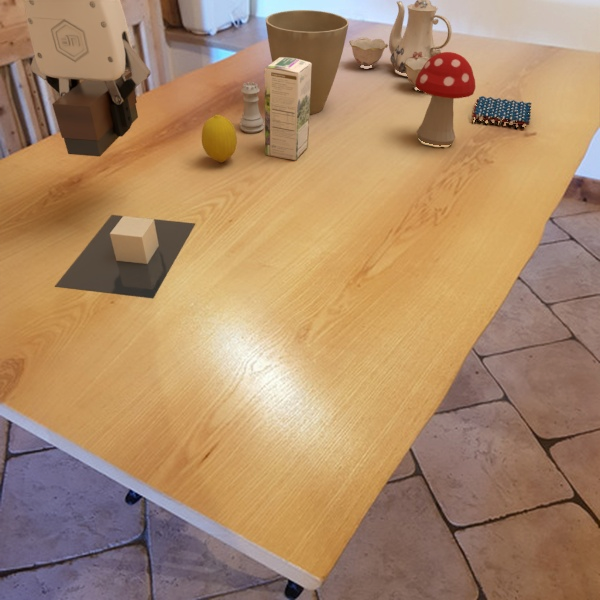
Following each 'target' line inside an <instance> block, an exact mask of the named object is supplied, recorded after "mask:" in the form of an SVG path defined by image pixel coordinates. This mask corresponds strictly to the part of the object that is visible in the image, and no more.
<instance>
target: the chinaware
mask: <svg viewBox="0 0 600 600" xmlns="http://www.w3.org/2000/svg"><path fill="white" fill-rule="evenodd" d="M396 4H397V7H398V12H397V15H396V18H395V21H394V23H393V26H392V28H391V31H390V35H389V39H388V43H385V41H384V40H383V39H381V38H375V39H370V38H368V37H364V36H363V37H359V38H357V39H356V40H353V39H351V40H349V41H348V43H349V45H350V47H351V50H352V51H351V52H352V55H353V58H354V60H355V61H356V62H357V63H359V65H360V64H361V65H364V66H370V65H373V66H374V65H375V64H376V63H378V62H379V61H380V60H381V58H382V56H383V53H384V50H385V49H387V48H389V52H390V54H391V55H390V62H391V64H392V65H393V67H394V70H395V69H396V70H397V71H399V72H401V73H406V74H407V76H408V78H407V79H408V81H409V82H410V84H412V85H413V87H416V85H415V84H416V78H417V76H418V74H419V73H420V71H421V70H422V68H423V67H424V65H425V63H426V62H427V61H428V60H429V59H430V58H431V57H433V56H434V55H436V54H439V53H442V49H443V48H445V47H446V46H447V45H448V44H449V42H450V41H451V38H452V33H453V30H452V29H453V28H452V25H451V22H450V21H449V19H448V18H447V17H445V16H444V15H440V14H436V13H437V10H438V9H439V8H438V7H437V6H436V5H433V4H432V1H430V0H415V2H414V3H413V4H408V5H407V6H406V7H407V15H408V16H407V22H406V28H405V30H404V32H403V33H404V34H403V36H402V31H403V26H404V21H405V16H406V15H405V13H406V10H405V9H406V8H405V5H404V4H403V2H402V1H400V0H399V1H396ZM439 20H441V21H443V22H444V23H445V25H446V28H447V36H446V39H445V41H444V42H443V44H441V45H438V46H435V42H434V41H435V40H434V36H433V35H434V34H433V27H434V25H438V24H439Z"/></svg>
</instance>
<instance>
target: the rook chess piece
mask: <svg viewBox="0 0 600 600" xmlns="http://www.w3.org/2000/svg"><path fill="white" fill-rule="evenodd" d="M240 90H241V93H242V94H243V98H242V101H243V114H242V115H241V118H240V121H239V123H240V125H239V128H240V130H241V131H242V132H244V133H246V134H257V133H260V132H262V131H263V130H264V129H265V124H264V123H265V119H264V118H263V117H262V114H261V112H260V108H259V100H260V97H258V94H259V93H260V91H261V89H260V88H259V86H258V83H256V82H252V81H251V83H250V82H249V81H247V82H246V83H245V82H244V83H243V84H242V88H241V89H240Z"/></svg>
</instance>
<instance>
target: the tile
mask: <svg viewBox="0 0 600 600" xmlns="http://www.w3.org/2000/svg"><path fill="white" fill-rule="evenodd" d="M123 216H124V215H119V214H111V215H110V217H108V219H107V220H106V221H105V222H104V224H103V225H102V226H101V227H100V229H99V230H98V232H97V233H95V235H94V237H93V238H92V239H90V241H89V242H88V244H87V245H86V246H85V247H84V248H83V250H82V251H81V253H80V254H79V255H78V256H77V257H76V259H75V260H74V261H73V262H72V264H70V266H69V268H68V269H67V270H66V271H65V272H64V273H63V275H62V277H61V278H60V279H59V280H58V281H57V282H56V284H55V285H54V288H60V289H69V290H76V291H77V290H78V291H87V292H95V293H101V294H112V295H119V296H129V297H136V298H145V299H154V298H155V296H156V295H157V293H158V291H159V289H160V288H161V286H162V284H163V282H164V281H165V279H166V278H167V276H168V274H169V272H170V270H171V268H172V267H173V266H174V263H175V262H176V259H177V258H178V256H179V254H180V253H181V251H182V249H183V247H184V245H185V244H186V242H187V240H188V238H189V237H190V234H191V233H192V231H193V229H194V227H195V226H196V222H187V221H186V222H185V221H175V220H167V219H157V218H153V219H154V222H155V228H156V233H157V239H158V244H159V246H158V248H157V249H156V251H155V253H154V254H153V256H152V257H151V259H150V261H149V262H148V264H142V263H133V262H124V261H117V260H116V256H115V252H114V248H113V244H112V240H111V236H110V233H111V231H112V230H113V229H114V227H115V226H116V225H117V224H118V222H119V221H120V220H121V218H122V217H123ZM126 216H127V215H126ZM127 217H129V216H127ZM136 217H137V218H139V217H138V216H136ZM146 218H147V217H146ZM147 219H149V218H147Z"/></svg>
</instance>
